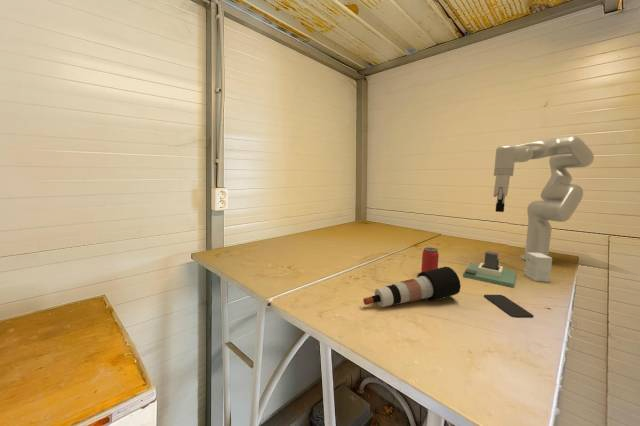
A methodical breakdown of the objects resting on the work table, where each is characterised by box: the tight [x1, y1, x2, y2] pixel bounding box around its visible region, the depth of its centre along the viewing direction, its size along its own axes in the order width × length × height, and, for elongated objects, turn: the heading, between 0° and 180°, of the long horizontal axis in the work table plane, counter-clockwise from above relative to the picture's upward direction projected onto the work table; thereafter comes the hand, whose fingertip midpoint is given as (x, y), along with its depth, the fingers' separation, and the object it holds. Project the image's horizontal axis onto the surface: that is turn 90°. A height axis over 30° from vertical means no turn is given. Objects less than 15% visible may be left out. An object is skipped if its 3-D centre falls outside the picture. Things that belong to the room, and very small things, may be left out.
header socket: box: [478, 262, 504, 278], centre depth 116 cm, size 8×8×2 cm
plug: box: [483, 250, 500, 270], centre depth 115 cm, size 4×5×9 cm
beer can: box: [420, 247, 440, 273], centre depth 116 cm, size 7×7×12 cm
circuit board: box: [462, 263, 517, 288], centre depth 116 cm, size 18×18×2 cm
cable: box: [363, 266, 462, 308], centre depth 91 cm, size 10×34×10 cm, turn 106°
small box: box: [524, 252, 553, 283], centre depth 113 cm, size 8×6×10 cm
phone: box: [483, 294, 534, 319], centre depth 89 cm, size 7×1×15 cm
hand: (499, 211), depth 126 cm, fingers closed
